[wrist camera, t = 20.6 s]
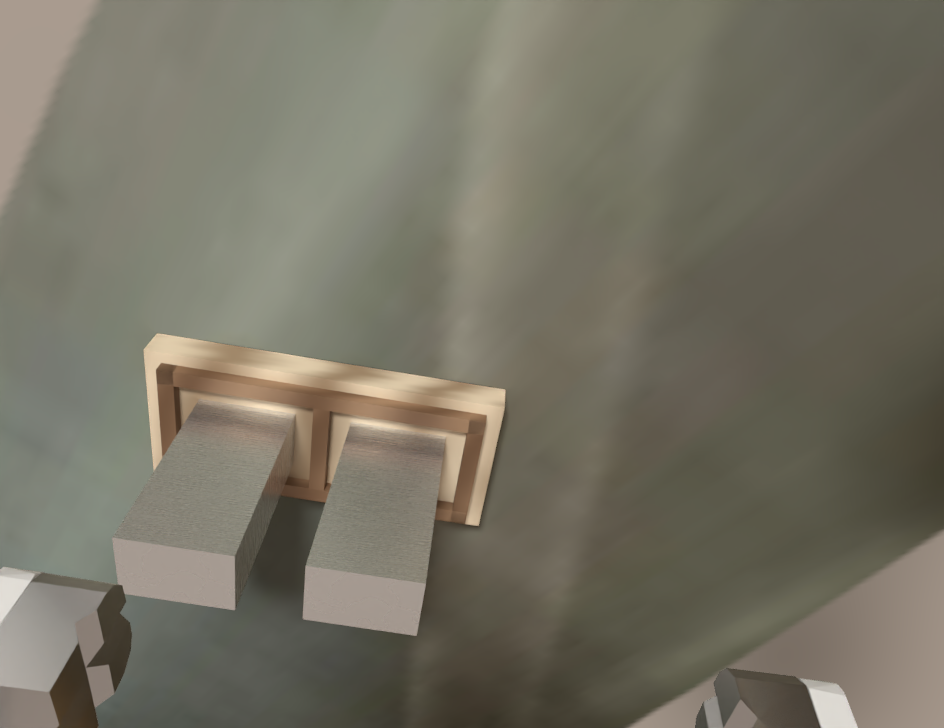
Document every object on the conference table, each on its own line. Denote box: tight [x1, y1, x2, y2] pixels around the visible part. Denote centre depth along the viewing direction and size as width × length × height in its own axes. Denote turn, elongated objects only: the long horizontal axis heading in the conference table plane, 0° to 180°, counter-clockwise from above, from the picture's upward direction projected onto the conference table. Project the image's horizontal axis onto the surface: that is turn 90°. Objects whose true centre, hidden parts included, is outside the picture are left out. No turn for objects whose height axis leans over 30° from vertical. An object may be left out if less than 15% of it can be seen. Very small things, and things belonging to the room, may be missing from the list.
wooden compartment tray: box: [144, 333, 505, 526], centre depth 49 cm, size 22×10×3 cm, turn 81°
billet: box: [112, 399, 295, 610], centre depth 44 cm, size 6×4×12 cm, turn 81°
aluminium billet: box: [303, 422, 446, 636], centre depth 44 cm, size 6×4×12 cm, turn 81°
